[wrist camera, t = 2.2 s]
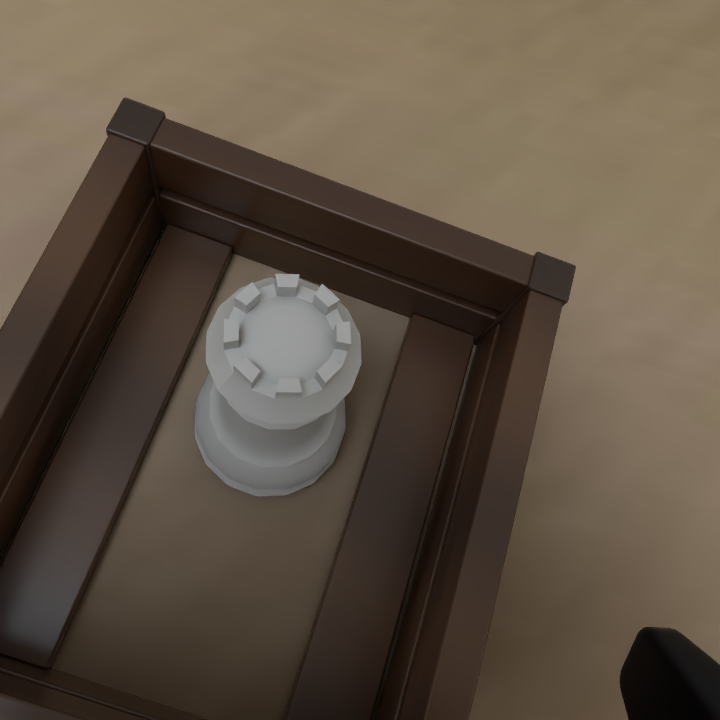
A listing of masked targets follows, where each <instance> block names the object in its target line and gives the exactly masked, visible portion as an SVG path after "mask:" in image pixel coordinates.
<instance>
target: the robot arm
mask: <svg viewBox="0 0 720 720" xmlns="http://www.w3.org/2000/svg"><path fill="white" fill-rule="evenodd" d="M620 688H621V693H622V697H623V700H624V704H625V708H626V711H627V715H628V719H629V720H720V664H718V663H717V662H716V661H715V660H713V659H712V658H711V657H710V656H708V655H707V654H706V653H705V652H704V651H702V650H701V649H700V648H699V647H697V646H696V645H695V644H694V643H692V642H691V641H690V640H689V639H687V638H686V637H685V636H684V635H683V634H681V633H680V632H678V631H677V630H675V629H671V628H659V627H645V628H643V629H642V630H640V631H639V632H638V634H637V636H636V638H635V641H634V643H633V645H632V647H631V649H630V651H629V654H628V656H627V658H626V660H625V662H624V665H623V667H622V669H621V674H620Z"/></svg>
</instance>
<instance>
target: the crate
mask: <svg viewBox="0 0 720 720" xmlns="http://www.w3.org/2000/svg"><path fill="white" fill-rule="evenodd" d="M106 132H107V136H108V137H107V139H106V141H105V143H104V145H103V146H102V148H101V150H100V152H99V154H98V155H97V157H96V159H95V161H94V163H93V164H92V166H91V168H90V170H89V171H88V173H87V175H86V177H85V179H84V180H83V182H82V184H81V186H80V188H79V189H78V191H77V193H76V195H75V197H74V198H73V200H72V202H71V204H70V206H69V207H68V209H67V211H66V213H65V215H64V216H63V218H62V220H61V222H60V223H59V225H58V227H57V229H56V231H55V232H54V234H53V236H52V238H51V240H50V241H49V243H48V245H47V247H46V249H45V250H44V252H43V254H42V256H41V258H40V259H39V261H38V263H37V265H36V266H35V268H34V270H33V272H32V274H31V275H30V277H29V279H28V281H27V283H26V284H25V286H24V288H23V290H22V292H21V293H20V295H19V297H18V299H17V301H16V302H15V304H14V306H13V308H12V310H11V311H10V313H9V315H8V317H7V318H6V320H5V322H4V324H3V326H2V327H1V329H0V558H1V556H2V554H3V551H4V549H5V547H6V545H7V543H8V541H9V539H10V537H11V535H12V533H13V531H14V529H15V527H16V525H17V523H18V521H19V519H20V517H21V515H22V513H23V511H24V509H25V507H26V505H27V503H28V501H29V499H30V496H31V494H32V492H33V490H34V488H35V486H36V484H37V482H38V480H39V478H40V476H41V474H42V472H43V470H44V468H45V466H46V464H47V462H48V460H49V458H50V456H51V454H52V452H53V450H54V448H55V446H56V444H57V441H58V439H59V437H60V435H61V433H62V431H63V429H64V427H65V425H66V423H67V421H68V419H69V417H70V415H71V413H72V411H73V409H74V407H75V405H76V403H77V401H78V399H79V397H80V395H81V393H82V391H83V389H84V387H85V384H86V382H87V380H88V378H89V376H90V374H91V372H92V370H93V368H94V366H95V364H96V362H97V360H98V358H99V356H100V354H101V352H102V350H103V348H104V346H105V344H106V342H107V340H108V338H109V336H110V334H111V332H112V329H113V327H114V325H115V323H116V321H117V319H118V317H119V315H120V313H121V311H122V309H123V307H124V305H125V303H126V301H127V299H128V297H129V295H130V293H131V291H132V289H133V287H134V285H135V283H136V281H137V279H138V277H139V274H140V272H141V270H142V268H143V266H144V264H145V262H146V260H147V258H148V256H149V254H150V252H151V250H152V248H153V246H154V244H155V242H156V240H157V238H158V236H159V234H160V232H161V230H164V229H165V230H164V232H163V234H162V236H161V238H160V240H159V242H158V244H157V246H156V248H155V250H154V252H153V255H152V257H151V259H150V261H149V263H148V265H147V267H146V269H145V271H144V273H143V275H142V277H141V279H140V281H139V283H138V285H137V287H136V289H135V291H134V293H133V295H132V297H131V300H130V302H129V304H128V306H127V308H126V310H125V312H124V314H123V316H122V318H121V320H120V322H119V324H118V326H117V328H116V330H115V332H114V334H113V336H112V338H111V340H110V342H109V344H108V347H107V349H106V351H105V353H104V355H103V357H102V359H101V361H100V363H99V365H98V367H97V369H96V371H95V373H94V375H93V377H92V379H91V381H90V383H89V385H88V387H87V389H86V392H85V394H84V396H83V398H82V400H81V402H80V404H79V406H78V408H77V410H76V412H75V414H74V416H73V418H72V420H71V422H70V424H69V426H68V428H67V430H66V432H65V434H64V437H63V439H62V441H61V443H60V445H59V447H58V449H57V451H56V453H55V455H54V457H53V459H52V461H51V463H50V465H49V467H48V469H47V471H46V473H45V475H44V477H43V479H42V482H41V484H40V486H39V488H38V490H37V492H36V494H35V496H34V498H33V500H32V502H31V504H30V506H29V508H28V510H27V512H26V514H25V516H24V518H23V520H22V522H21V524H20V526H19V529H18V531H17V533H16V535H15V537H14V539H13V541H12V543H11V545H10V547H9V549H8V551H7V553H6V555H5V557H4V559H3V561H2V563H1V565H0V720H207V719H204V718H201V717H198V716H195V715H192V714H189V713H186V712H183V711H180V710H177V709H174V708H170V707H167V706H164V705H161V704H158V703H155V702H152V701H149V700H146V699H143V698H140V697H137V696H134V695H131V694H128V693H124V692H121V691H118V690H115V689H112V688H109V687H106V686H103V685H100V684H97V683H94V682H91V681H88V680H85V679H82V678H79V677H75V676H72V675H69V674H66V673H63V672H60V671H57V670H54V669H51V668H50V667H51V666H52V664H53V661H54V659H55V657H56V654H57V652H58V650H59V648H60V645H61V643H62V641H63V638H64V636H65V634H66V632H67V629H68V627H69V625H70V623H71V620H72V618H73V616H74V613H75V611H76V609H77V607H78V604H79V602H80V600H81V597H82V595H83V593H84V591H85V588H86V586H87V584H88V582H89V579H90V577H91V575H92V572H93V570H94V568H95V566H96V563H97V561H98V559H99V557H100V554H101V552H102V550H103V547H104V545H105V543H106V541H107V538H108V536H109V534H110V531H111V529H112V527H113V525H114V522H115V520H116V518H117V516H118V513H119V511H120V509H121V506H122V504H123V502H124V500H125V497H126V495H127V493H128V491H129V488H130V486H131V484H132V481H133V479H134V477H135V475H136V472H137V470H138V468H139V465H140V463H141V461H142V459H143V456H144V454H145V452H146V450H147V447H148V445H149V443H150V440H151V438H152V436H153V434H154V431H155V429H156V427H157V425H158V422H159V420H160V418H161V415H162V413H163V411H164V409H165V406H166V404H167V402H168V399H169V397H170V395H171V393H172V390H173V388H174V386H175V384H176V381H177V379H178V377H179V374H180V372H181V370H182V368H183V365H184V363H185V361H186V359H187V356H188V354H189V352H190V349H191V347H192V345H193V343H194V340H195V338H196V336H197V333H198V331H199V329H200V327H201V324H202V322H203V320H204V318H205V315H206V313H207V311H208V308H209V306H210V304H211V302H212V299H213V297H214V295H215V292H216V290H217V288H218V286H219V283H220V281H221V279H222V277H223V274H224V272H225V270H226V267H227V265H228V263H229V261H230V258H231V256H232V252H233V253H235V254H238V255H241V256H244V257H246V258H249V259H252V260H255V261H257V262H260V263H263V264H266V265H268V266H271V267H274V268H276V269H279V270H282V271H285V272H287V273H290V274H300V275H299V277H301V278H304V279H307V280H309V281H312V282H315V283H317V284H320V285H322V284H323V285H324V286H326V287H328V288H331V289H334V290H337V291H339V292H342V293H345V294H348V295H350V296H353V297H356V298H359V299H361V300H364V301H367V302H369V303H372V304H375V305H378V306H380V307H383V308H386V309H389V310H391V311H394V312H397V313H400V314H402V315H405V316H408V317H410V320H409V323H408V327H407V330H406V333H405V336H404V339H403V342H402V346H401V349H400V352H399V355H398V358H397V361H396V365H395V368H394V371H393V374H392V377H391V380H390V384H389V387H388V390H387V393H386V396H385V399H384V403H383V406H382V409H381V412H380V415H379V418H378V422H377V425H376V428H375V431H374V434H373V437H372V441H371V444H370V447H369V450H368V453H367V456H366V460H365V463H364V466H363V469H362V472H361V475H360V479H359V482H358V485H357V488H356V491H355V494H354V497H353V501H352V504H351V507H350V510H349V513H348V516H347V520H346V523H345V526H344V529H343V532H342V535H341V539H340V542H339V545H338V548H337V551H336V554H335V558H334V561H333V564H332V567H331V570H330V573H329V577H328V580H327V583H326V586H325V589H324V592H323V596H322V599H321V602H320V605H319V608H318V611H317V615H316V618H315V621H314V624H313V627H312V630H311V634H310V637H309V640H308V643H307V646H306V649H305V653H304V656H303V659H302V662H301V665H300V668H299V672H298V675H297V678H296V681H295V684H294V687H293V691H292V694H291V697H290V700H289V703H288V706H287V710H286V713H285V716H284V719H283V720H371V717H372V713H373V710H374V706H375V702H376V699H377V695H378V691H379V688H380V684H381V680H382V677H383V673H384V669H385V666H386V662H387V659H388V655H389V651H390V648H391V644H392V640H393V637H394V633H395V629H396V626H397V622H398V618H399V615H400V611H401V607H402V604H403V600H404V596H405V593H406V589H407V585H408V582H409V578H410V574H411V571H412V567H413V563H414V560H415V556H416V552H417V549H418V545H419V542H420V538H421V534H422V531H423V527H424V523H425V520H426V516H427V512H428V509H429V505H430V501H431V498H432V494H433V490H434V487H435V483H436V479H437V476H438V472H439V468H440V465H441V461H442V457H443V454H444V450H445V446H446V443H447V439H448V436H449V432H450V428H451V425H452V421H453V417H454V414H455V410H456V406H457V403H458V399H459V395H460V392H461V388H462V384H463V381H464V377H465V373H466V370H467V366H468V362H469V359H470V355H471V351H472V348H473V344H474V341H475V344H476V345H477V347H476V351H475V354H474V358H473V362H472V365H471V369H470V373H469V376H468V380H467V384H466V387H465V391H464V395H463V398H462V402H461V406H460V410H459V413H458V417H457V421H456V424H455V428H454V432H453V435H452V439H451V443H450V446H449V450H448V454H447V457H446V461H445V465H444V469H443V472H442V476H441V480H440V483H439V487H438V491H437V494H436V498H435V502H434V505H433V509H432V513H431V516H430V520H429V524H428V527H427V531H426V535H425V539H424V542H423V546H422V550H421V553H420V557H419V561H418V564H417V568H416V572H415V575H414V579H413V583H412V586H411V590H410V594H409V598H408V601H407V605H406V609H405V612H404V616H403V620H402V623H401V627H400V631H399V634H398V638H397V642H396V645H395V649H394V653H393V656H392V660H391V664H390V668H389V671H388V675H387V679H386V682H385V686H384V690H383V693H382V697H381V701H380V704H379V708H378V712H377V715H376V719H375V720H469V716H470V711H471V707H472V702H473V698H474V693H475V689H476V685H477V680H478V676H479V671H480V667H481V663H482V658H483V654H484V649H485V645H486V640H487V636H488V632H489V627H490V623H491V618H492V614H493V609H494V605H495V601H496V596H497V592H498V587H499V583H500V579H501V574H502V570H503V565H504V561H505V556H506V552H507V548H508V543H509V539H510V534H511V530H512V526H513V521H514V517H515V512H516V508H517V503H518V499H519V495H520V490H521V486H522V481H523V477H524V472H525V468H526V464H527V459H528V455H529V450H530V446H531V442H532V437H533V433H534V428H535V424H536V419H537V415H538V411H539V406H540V402H541V397H542V393H543V388H544V384H545V380H546V375H547V371H548V366H549V362H550V358H551V353H552V349H553V344H554V340H555V335H556V331H557V327H558V322H559V318H560V313H561V309H562V306H564V305H565V304H566V303H567V302H568V300H569V295H570V291H571V286H572V282H573V278H574V273H575V269H576V266H575V265H572V264H570V263H567V262H564V261H562V260H559V259H556V258H554V257H551V256H548V255H546V254H543V253H540V252H536V254H535V255H534V256H532V255H530V254H527V253H524V252H522V251H519V250H516V249H514V248H511V247H508V246H506V245H503V244H500V243H498V242H495V241H492V240H489V239H487V238H484V237H481V236H479V235H476V234H473V233H471V232H468V231H465V230H463V229H460V228H457V227H455V226H452V225H449V224H447V223H444V222H441V221H439V220H436V219H433V218H431V217H428V216H425V215H423V214H420V213H417V212H415V211H412V210H409V209H407V208H404V207H401V206H399V205H396V204H393V203H391V202H388V201H385V200H383V199H380V198H377V197H375V196H372V195H369V194H367V193H364V192H361V191H359V190H356V189H353V188H351V187H348V186H345V185H343V184H340V183H337V182H335V181H332V180H329V179H327V178H324V177H321V176H319V175H316V174H313V173H311V172H308V171H305V170H303V169H300V168H297V167H295V166H292V165H289V164H287V163H284V162H281V161H279V160H276V159H273V158H271V157H268V156H265V155H263V154H260V153H257V152H255V151H252V150H249V149H247V148H244V147H241V146H239V145H236V144H233V143H231V142H228V141H225V140H223V139H220V138H217V137H215V136H212V135H209V134H207V133H204V132H201V131H199V130H196V129H193V128H191V127H188V126H185V125H183V124H180V123H177V122H174V121H172V120H169V119H166V117H165V113H164V112H163V111H160V110H158V109H155V108H152V107H150V106H147V105H144V104H142V103H139V102H136V101H134V100H131V99H128V98H123V100H122V102H121V103H120V105H119V107H118V109H117V110H116V112H115V114H114V116H113V118H112V119H111V121H110V123H109V125H108V126H107V128H106Z"/></svg>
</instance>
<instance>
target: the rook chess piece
mask: <svg viewBox="0 0 720 720" xmlns="http://www.w3.org/2000/svg"><path fill="white" fill-rule="evenodd" d="M299 275H300V274H275V278H270V277H269V278H266V279H263V280H260V281H257V282H255V283H253V282H251V283H250V284H249V285H246V286H243V287H241V288H240V289H238V290H237V291H236V292H235V293H234V294H233V295H231V296H230V297H229V298H228V299H227V300H226V301H225V302H223V303H222V304H221V305H220V306H219V307H218V309H217V312H216V314H215V316H214V318H213V320H212V322H211V324H210V326H209V328H208V330H207V332H206V364H207V366H208V369H209V371H210V373H209V374H208V376H207V378H206V380H205V382H204V384H203V387H202V389H201V391H200V393H199V395H198V397H197V399H196V407H195V439H196V442H197V444H198V447H199V449H200V452H201V454H202V456H203V459H204V461H205V464H206V465H207V466H208V467H209V468H210V469H211V470H212V471H213V472H214V473H215V474H216V475H217V476H218V477H219V478H220V479H221V480H222V481H223V482H224V483H225V484H226V485H228V486H230V487H233V488H235V489H238V490H241V491H243V492H246V493H248V494H251V495H253V496H286V495H289V494H291V493H293V492H295V491H298V490H300V489H302V488H304V487H307V486H309V485H311V484H313V483H315V481H316V480H317V479H318V478H319V477H320V476H321V475H322V474H323V473H324V472H325V471H326V470H327V469H328V468H329V467H330V466H331V464H332V463H333V462H334V460H335V458H336V455H337V452H338V450H339V447H340V444H341V442H342V439H343V436H344V432H345V429H346V418H345V399H344V397H345V396H346V395H347V394H348V393H349V392H350V391H351V390H352V387H353V385H354V382H355V380H356V377H357V374H358V372H359V369H360V366H361V364H362V360H361V340H360V333H359V331H358V329H357V327H356V325H355V323H354V321H353V319H352V317H351V315H350V313H349V311H348V309H347V308H346V307H345V306H344V305H343V304H342V303H341V302H339V301H340V299H339V298H337V297H336V296H335V295H334V294H333V293H332V292H331V291H330V290H329V289H328V288H327V287H325V286H324V285H323V284H322V285H321V286H320V287H319V286H317V285H314V284H312V283H309V282H307V281H304V280H302V279H299Z"/></svg>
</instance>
